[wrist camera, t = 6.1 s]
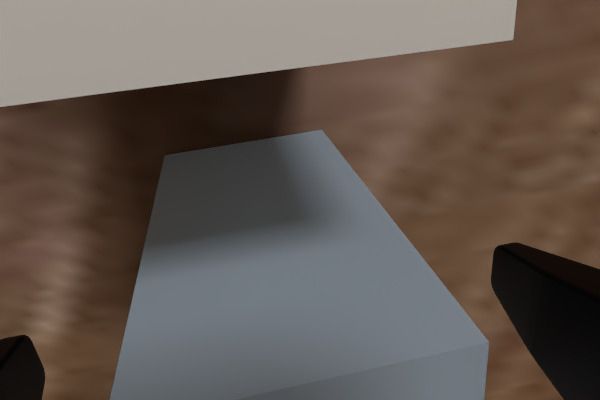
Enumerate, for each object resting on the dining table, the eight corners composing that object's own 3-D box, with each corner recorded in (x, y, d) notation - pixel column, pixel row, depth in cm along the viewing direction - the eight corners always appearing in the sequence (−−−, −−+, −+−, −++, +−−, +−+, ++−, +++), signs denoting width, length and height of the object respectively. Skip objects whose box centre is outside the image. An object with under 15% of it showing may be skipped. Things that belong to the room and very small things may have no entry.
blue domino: (327, 186, 16) (480, 442, 7) (178, 212, 15) (144, 527, 7) (321, 129, 15) (488, 342, 6) (164, 155, 15) (102, 428, 6)
